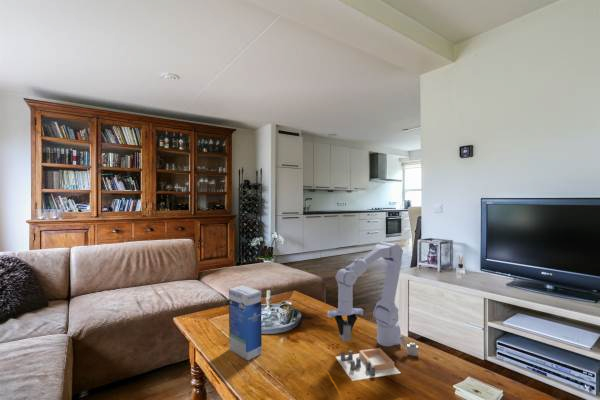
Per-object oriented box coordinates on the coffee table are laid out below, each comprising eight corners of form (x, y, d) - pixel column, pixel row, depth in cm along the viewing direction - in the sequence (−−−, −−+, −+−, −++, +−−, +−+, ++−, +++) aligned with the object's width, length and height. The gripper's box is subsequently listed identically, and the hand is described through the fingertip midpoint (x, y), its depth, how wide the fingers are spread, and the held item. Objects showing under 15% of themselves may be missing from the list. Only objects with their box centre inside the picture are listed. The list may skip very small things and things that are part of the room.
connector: (346, 335, 123) (346, 318, 123) (350, 340, 119) (351, 323, 118) (339, 336, 123) (339, 318, 123) (343, 341, 118) (343, 324, 118)
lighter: (417, 356, 121) (417, 336, 121) (418, 358, 120) (418, 338, 120) (399, 353, 124) (399, 333, 123) (399, 355, 122) (399, 335, 122)
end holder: (379, 352, 122) (379, 347, 122) (394, 367, 112) (394, 362, 112) (359, 355, 120) (359, 350, 120) (372, 371, 109) (372, 365, 109)
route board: (378, 352, 124) (378, 343, 124) (400, 375, 108) (401, 364, 108) (335, 358, 119) (335, 349, 119) (352, 383, 104) (352, 372, 104)
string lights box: (262, 354, 123) (262, 291, 122) (247, 361, 117) (247, 295, 117) (242, 343, 132) (242, 284, 131) (227, 349, 126) (227, 288, 126)
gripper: (358, 295, 126) (357, 327, 126) (325, 297, 123) (324, 330, 123) (365, 300, 119) (365, 334, 119) (330, 303, 116) (330, 338, 116)
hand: (345, 333), depth 120 cm, fingers closed on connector, 3 cm apart
